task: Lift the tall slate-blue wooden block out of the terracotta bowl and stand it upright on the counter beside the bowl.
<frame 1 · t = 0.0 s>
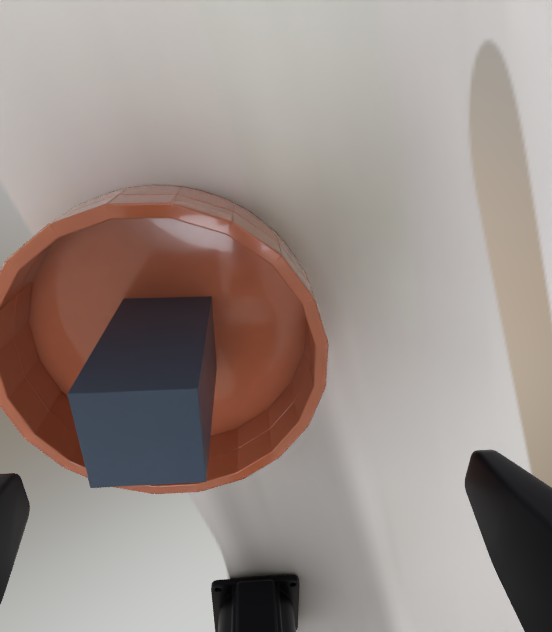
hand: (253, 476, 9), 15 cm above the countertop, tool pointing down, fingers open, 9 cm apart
block: (172, 335, 23), resting on bowl
bowl: (173, 331, 24), on the countertop
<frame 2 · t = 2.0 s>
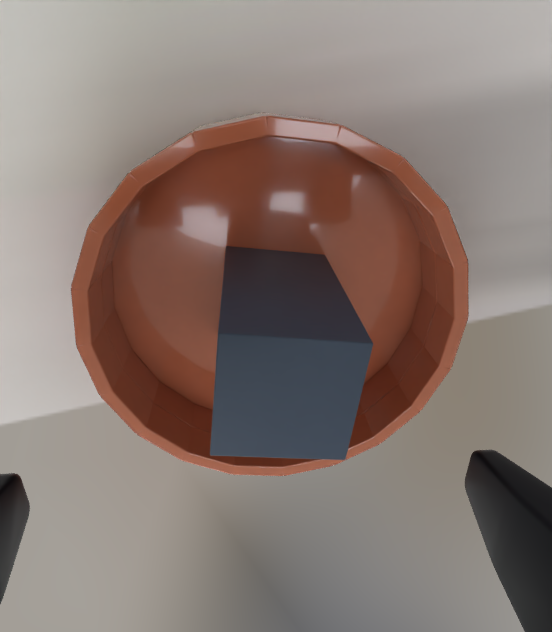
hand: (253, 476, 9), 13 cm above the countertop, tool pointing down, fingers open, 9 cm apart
block: (270, 295, 20), resting on bowl
bowl: (270, 291, 21), on the countertop
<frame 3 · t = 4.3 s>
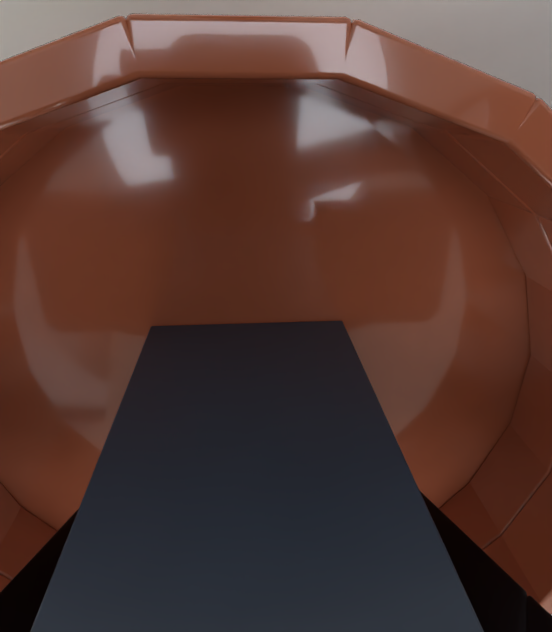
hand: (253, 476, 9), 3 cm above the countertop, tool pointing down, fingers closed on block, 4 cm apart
block: (250, 400, 11), point 1 cm above the countertop, touching bowl, gripper
bowl: (249, 388, 12), on the countertop
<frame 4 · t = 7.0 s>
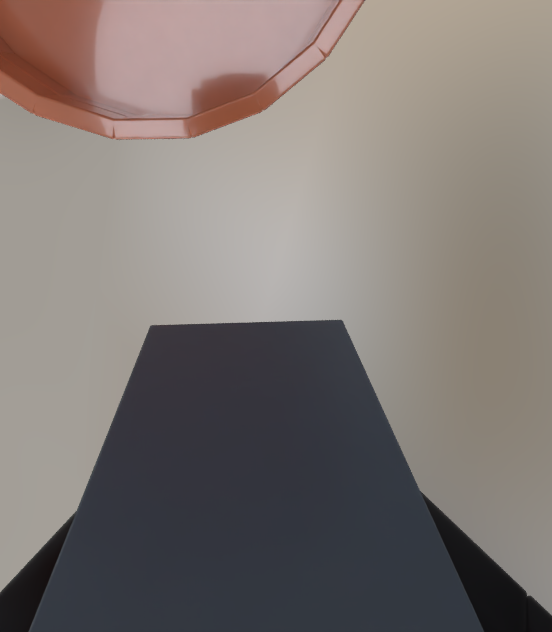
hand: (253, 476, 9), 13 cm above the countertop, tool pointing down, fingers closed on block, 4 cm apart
block: (249, 400, 11), point 10 cm above the countertop, touching gripper
when the fingers open (2 cm above the countertop, at t = 10.2 s): block stays where it is, on the countertop.
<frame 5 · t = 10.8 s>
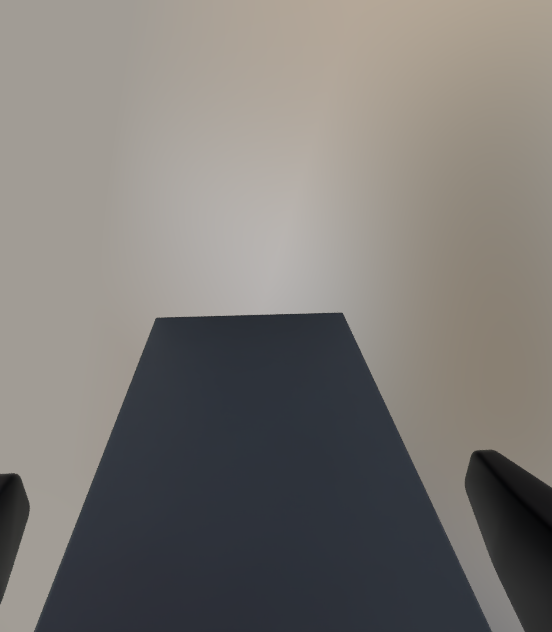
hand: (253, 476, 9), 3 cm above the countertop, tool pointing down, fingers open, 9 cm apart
block: (252, 391, 11), on the countertop
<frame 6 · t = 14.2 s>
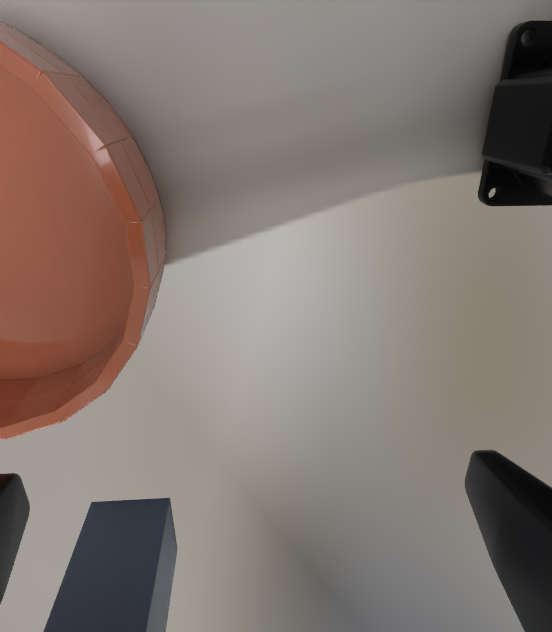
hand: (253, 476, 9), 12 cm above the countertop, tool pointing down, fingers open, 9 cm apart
block: (136, 526, 26), on the countertop
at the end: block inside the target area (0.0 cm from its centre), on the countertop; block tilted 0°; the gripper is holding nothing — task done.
